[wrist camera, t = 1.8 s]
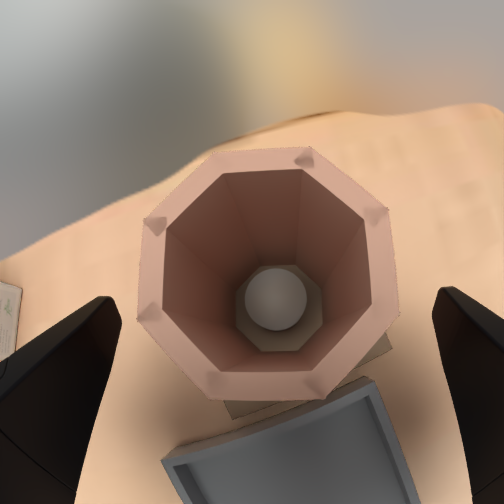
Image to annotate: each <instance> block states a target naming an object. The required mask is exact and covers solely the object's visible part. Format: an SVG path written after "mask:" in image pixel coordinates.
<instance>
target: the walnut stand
mask: <svg viewBox="0 0 504 504" xmlns="http://www.w3.org/2000/svg"><path fill="white" fill-rule="evenodd" d="M322 324H323V320H322V293H321V288H320V287H319V286H318V285H317V284H316V283H315V282H313V281H312V280H311V279H310V278H309V277H308V276H307V275H306V274H305V273H304V272H303V271H301V270H300V269H299V268H298V267H297V266H296V265H280V266H260V267H259V268H258V269H257V270H256V271H255V272H254V273H253V274H252V275H251V276H250V277H249V278H248V279H247V280H246V281H245V282H244V283H243V284H242V285H241V286H240V287H239V288H238V289H237V291H236V327H237V328H238V329H239V330H240V331H241V332H242V333H243V334H244V335H245V336H246V337H247V338H248V339H249V340H250V341H251V342H252V343H253V344H254V345H255V346H256V347H257V348H258V349H259V350H260V351H298V350H299V349H300V348H301V347H302V346H303V345H304V343H305V342H306V341H307V340H308V339H309V338H310V337H311V336H312V335H313V334H314V333H315V332H316V331H317V330H318V329H319V328H320V327H321V325H322ZM391 349H392V346H391V344H390V342H389V339H388V337H387V335H386V333H385V332H384V334H383V335H382V336H381V337H380V338H379V339H378V341H377V342H376V343H375V344H374V345H373V347H372V348H371V349H370V350H369V351H368V352H367V353H366V355H365V356H364V357H363V358H362V359H361V360H360V361H359V362H358V364H357V365H356V366H355V367H354V368H353V369H355V368H357V367H359V366H361V365H362V364H364V363H366V362H368V361H370V360H372V359H374V358H376V357H378V356H380V355H382V354H383V353H385V352H387V351H389V350H391ZM353 369H352V370H353ZM223 401H224V403H225V405H226V407H227V410H228V412H229V414H230V416H231V418H232V420H233V419H236V418H239V417H242V416H245V415H247V414H250V413H253V412H256V411H258V410H261V409H264V408H266V407H269V406H271V405H274V404H276V403H279V402H281V401H242V400H223Z"/></svg>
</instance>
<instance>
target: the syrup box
mask: <svg viewBox="0 0 504 504" xmlns="http://www.w3.org/2000/svg"><path fill="white" fill-rule="evenodd" d="M21 294H22V289H20V288H18V287H16V286H13V285H10V284H7V283H4V282H1V281H0V360H4V359H5V358H7V357H9V356H10V355H11V354H13V353H14V352H15V344H16V336H17V327H18V317H19V309H20V302H21Z"/></svg>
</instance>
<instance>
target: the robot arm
mask: <svg viewBox="0 0 504 504" xmlns="http://www.w3.org/2000/svg"><path fill="white" fill-rule="evenodd" d="M432 320H433V324H434V329H435V333H436V337H437V342H438V347H439V351H440V356H441V361H442V365H443V369H444V373H445V376H446V379H447V383H448V386H449V390H450V393H451V397H452V401H453V404H454V408H455V412H456V416H457V420H458V424H459V429H460V433H461V437H462V442H463V447H464V452H465V457H466V462H467V468H468V473H469V479H470V486H471V493H472V502H473V504H504V319H502V318H501V317H499V316H498V315H496V314H495V313H494V312H492V311H491V310H489V309H488V308H486V307H485V306H483V305H482V304H480V303H479V302H477V301H476V300H474V299H472V298H471V297H469V296H468V295H466V294H465V293H463V292H462V291H460V290H458V289H457V288H455V287H453V286H449V287H441V288H440V289H439V291H438V294H437V297H436V300H435V304H434V307H433V311H432ZM121 327H122V320H121V316H120V314H119V312H118V309H117V307H116V304H115V301H114V299H113V298H112V297H110V296H98V297H97V298H95V299H93V300H92V301H90V302H89V303H87V304H86V305H84V306H83V307H81V308H79V309H78V310H76V311H75V312H73V313H72V314H70V315H69V316H67V317H66V318H64V319H63V320H61V321H60V322H58V323H57V324H55V325H54V326H52V327H51V328H49V329H48V330H46V331H45V332H43V333H42V334H40V335H39V336H37V337H36V338H34V339H33V340H31V341H30V342H28V343H27V344H26V345H24V346H23V347H21V348H20V349H18V350H17V351H15V352H14V353H13V354H11V355H10V356H9V357H7V358H5V359H4V360H2V361H1V362H0V504H74V502H75V498H76V492H77V488H78V484H79V479H80V475H81V471H82V467H83V463H84V459H85V456H86V452H87V448H88V444H89V441H90V437H91V434H92V430H93V427H94V423H95V420H96V416H97V413H98V410H99V407H100V403H101V400H102V397H103V394H104V391H105V388H106V385H107V381H108V378H109V375H110V372H111V368H112V365H113V360H114V356H115V352H116V347H117V343H118V339H119V335H120V331H121Z"/></svg>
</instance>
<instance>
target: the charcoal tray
mask: <svg viewBox="0 0 504 504" xmlns="http://www.w3.org/2000/svg"><path fill="white" fill-rule="evenodd" d="M160 461H161V463H162V465H163V466H164V468H165V470H166V472H167V474H168V476H169V478H170V480H171V482H172V484H173V486H174V487H175V489H176V491H177V493H178V495H179V496H180V498H181V500H182V502H183V503H184V504H421V503H420V500H419V497H418V494H417V491H416V488H415V485H414V482H413V480H412V477H411V474H410V471H409V468H408V466H407V463H406V460H405V457H404V455H403V452H402V449H401V447H400V444H399V441H398V439H397V436H396V434H395V431H394V428H393V426H392V423H391V421H390V418H389V416H388V413H387V411H386V408H385V406H384V403H383V401H382V398H381V396H380V394H379V391H378V389H377V386H376V384H375V381H373V380H371V379H369V378H367V377H365V376H363V377H361V378H359V379H357V380H355V381H353V382H351V383H349V384H347V385H345V386H342V387H340V388H338V389H336V390H334V391H332V392H330V393H329V394H328V395H327V396H326V399H323V400H321V399H314V400H312V401H310V402H307V403H305V404H303V405H300V406H298V407H295V408H293V409H291V410H288V411H286V412H283V413H281V414H278V415H275V416H273V417H270V418H268V419H265V420H262V421H260V422H257V423H254V424H251V425H248V426H246V427H243V428H240V429H237V430H234V431H231V432H228V433H225V434H221V435H218V436H215V437H212V438H208V439H205V440H202V441H198V442H195V443H191V444H187V445H184V446H180V447H176V448H174V449H173V450H172V451H171V452H169V453H168V454H167V455H166V456H165V457H164V458H163V459H161V460H160Z"/></svg>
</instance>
